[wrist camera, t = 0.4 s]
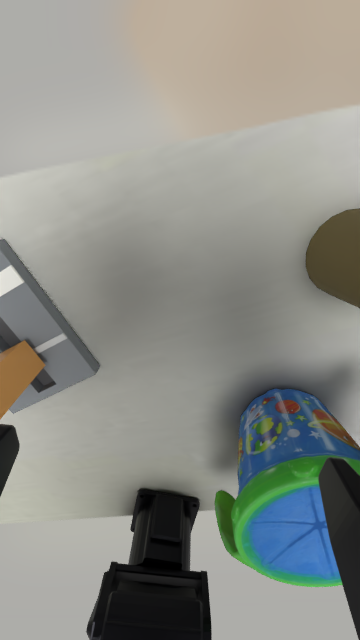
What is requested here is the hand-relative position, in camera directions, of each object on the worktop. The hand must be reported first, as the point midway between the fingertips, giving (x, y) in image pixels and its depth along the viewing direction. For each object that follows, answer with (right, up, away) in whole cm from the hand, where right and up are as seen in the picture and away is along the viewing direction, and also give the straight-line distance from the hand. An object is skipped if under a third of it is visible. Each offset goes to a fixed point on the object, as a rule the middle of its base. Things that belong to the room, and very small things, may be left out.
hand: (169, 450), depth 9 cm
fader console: (-13, +3, +16) cm, 21 cm away
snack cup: (+9, -5, +19) cm, 21 cm away
